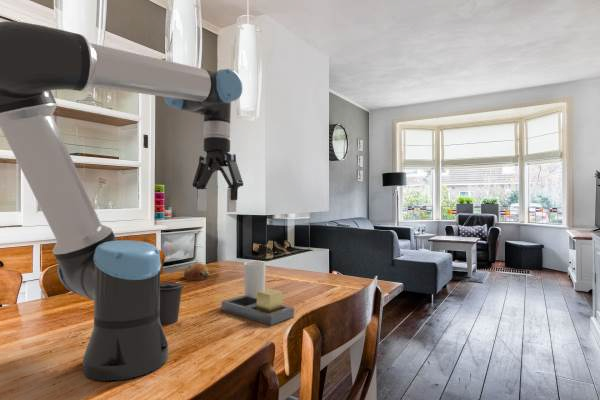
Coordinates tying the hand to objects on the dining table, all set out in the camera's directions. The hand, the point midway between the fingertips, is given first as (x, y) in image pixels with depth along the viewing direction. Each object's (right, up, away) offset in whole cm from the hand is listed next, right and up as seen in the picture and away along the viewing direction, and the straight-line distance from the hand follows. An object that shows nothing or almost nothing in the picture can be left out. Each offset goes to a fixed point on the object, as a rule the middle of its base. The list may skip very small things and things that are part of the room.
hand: (216, 211), depth 104 cm
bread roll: (-17, -29, +42) cm, 54 cm away
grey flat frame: (+12, -29, -2) cm, 31 cm away
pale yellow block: (+16, -29, -5) cm, 33 cm away
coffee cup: (-11, -29, -10) cm, 32 cm away
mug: (+10, -29, +12) cm, 33 cm away
